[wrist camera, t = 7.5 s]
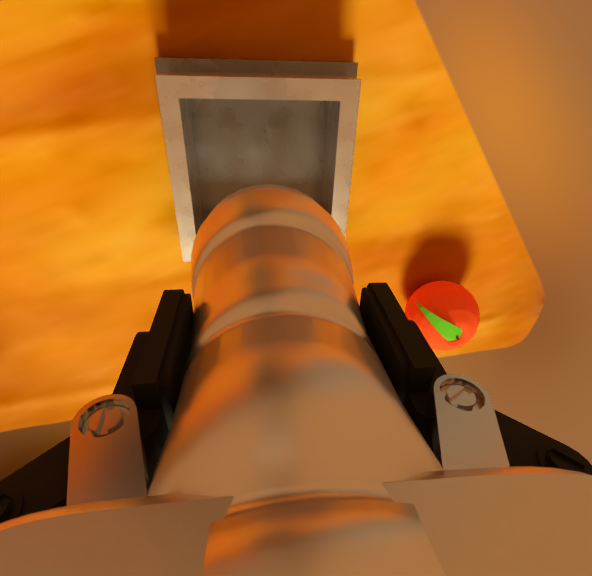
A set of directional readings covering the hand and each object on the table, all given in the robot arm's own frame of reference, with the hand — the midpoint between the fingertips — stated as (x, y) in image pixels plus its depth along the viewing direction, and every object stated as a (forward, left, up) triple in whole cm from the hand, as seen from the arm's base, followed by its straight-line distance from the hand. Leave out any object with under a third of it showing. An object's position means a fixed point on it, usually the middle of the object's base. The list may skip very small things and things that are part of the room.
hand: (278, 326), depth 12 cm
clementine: (+14, +17, -23) cm, 32 cm away
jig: (0, 0, -22) cm, 22 cm away
